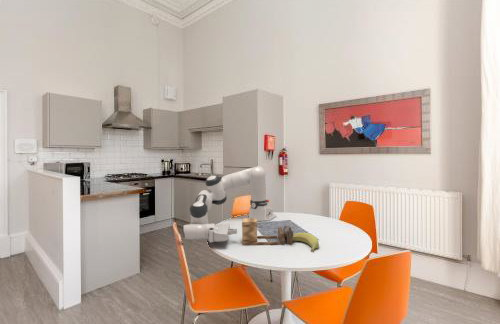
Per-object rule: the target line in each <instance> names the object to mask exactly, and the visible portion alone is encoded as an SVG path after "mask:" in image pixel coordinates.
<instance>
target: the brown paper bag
mask: <svg viewBox="0 0 500 324" xmlns="http://www.w3.org/2000/svg"><path fill="white" fill-rule="evenodd" d="M241 229H242V230H241V235H242V236H241V237H242V238H241V239H242V240H241V243H242V242H258V239H257V236H258V221H257V219H256V218H249V217H248V218H247V217H246V218H242V220H241Z"/></svg>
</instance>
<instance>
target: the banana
mask: <svg viewBox="0 0 500 324" xmlns="http://www.w3.org/2000/svg"><path fill="white" fill-rule="evenodd" d="M294 241H295V242H303V243H306V244H307V245H309V246H310V247H311V249H310V252H311V253H314V252H315V249H317V248H319V246H320V244H319V239H318V238H317V237H316V236H315V235H313V234H312V233H309V232H297V233H296V232H295V233H293V242H294Z"/></svg>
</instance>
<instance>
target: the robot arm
mask: <svg viewBox="0 0 500 324" xmlns="http://www.w3.org/2000/svg"><path fill="white" fill-rule="evenodd" d="M266 174H267V171H266V169H265V168H264V167H263V166H260V165H257V166H254V167H253V166H252V167H249V168H247V169H243V170H240V171H235V172H233V173H230V174H225V175H224V176H219V175H216V174H215V175H213V174H212V175H210V176H208V177H207V178H206V179H205V185H206V188H207V189H203V190H201V191H200V192H199V193H198V194H197V196H196V198H195V200H194V201H193V203H192V204H191V205H190V206H189V213H190V223H189V224H184V225H183V226H182V236H183V239H184V240H188V241H200V240H201V241H202V240H204V241H208V243H214V242H226V241H228V240H229V239H228V238H229V236H231V235H237V234H238V230H237V228H232V227H230V224H229V223H217V224H216V223H209V218H208V217H209V216H208V211H210V210H211V208H212V205H217V206H219V205H222V204H224V203H225V202H227V200H228V199H227V194H226V191H225V190H231V189H233V190H234V189H236V188H240V187H243V186H244V187H245V186H247V185H249V184H250V202H249V204H250V206H249V214H248V215H247V216H248V218H256V219H257V222H269V221H272V220H273V219H274V218H276V217H277V215H276V214H274V210H273V208H272V207H271V206H270V205H268V203H270V200H269V199H267V196H266V195H267V193H266V191H267V189H266V186H267V184H266Z"/></svg>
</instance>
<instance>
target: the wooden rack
mask: <svg viewBox="0 0 500 324" xmlns="http://www.w3.org/2000/svg"><path fill="white" fill-rule="evenodd" d="M293 234H294V231H293V230H292V227H291V226H290V225H284V226H283V227H277V235H257V240H258V239H259V240H261V239H277V240H278V241H257V242H242V241H241V243H242V246H279V245H280V246H283V245H284V246H285V240H286V245H293V242H294V241H293Z"/></svg>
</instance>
